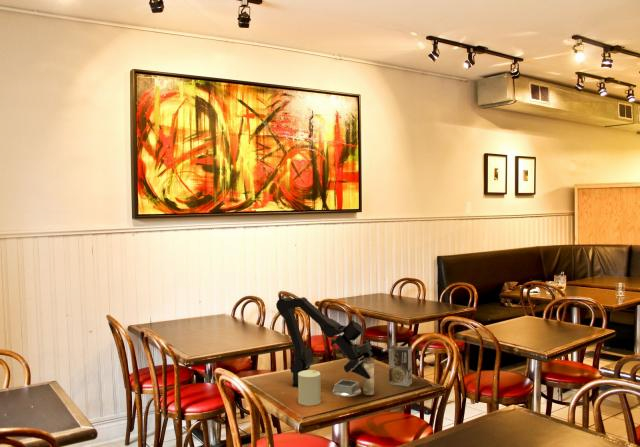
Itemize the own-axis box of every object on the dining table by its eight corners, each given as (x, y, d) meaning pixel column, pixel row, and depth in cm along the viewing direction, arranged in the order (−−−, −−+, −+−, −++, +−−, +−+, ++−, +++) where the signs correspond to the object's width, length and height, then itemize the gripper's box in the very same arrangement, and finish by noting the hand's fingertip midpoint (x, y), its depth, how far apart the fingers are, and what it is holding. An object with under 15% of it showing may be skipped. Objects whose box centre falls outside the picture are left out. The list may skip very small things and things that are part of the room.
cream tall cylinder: (361, 393, 226) (361, 360, 226) (365, 390, 230) (365, 357, 230) (371, 395, 224) (371, 361, 224) (375, 392, 228) (375, 359, 228)
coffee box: (412, 382, 244) (412, 346, 243) (408, 387, 238) (408, 350, 237) (392, 380, 247) (392, 344, 247) (388, 384, 242) (388, 348, 241)
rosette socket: (327, 394, 229) (327, 385, 229) (339, 385, 240) (339, 377, 240) (354, 398, 224) (354, 389, 224) (365, 389, 234) (365, 381, 234)
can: (325, 401, 221) (325, 371, 221) (310, 407, 214) (309, 377, 214) (308, 396, 227) (308, 367, 227) (293, 402, 220) (293, 372, 220)
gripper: (350, 340, 220) (376, 371, 215) (368, 330, 237) (392, 359, 232) (333, 357, 224) (358, 388, 219) (351, 346, 240) (375, 375, 236)
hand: (371, 376), depth 226 cm, fingers closed on cream tall cylinder, 4 cm apart
